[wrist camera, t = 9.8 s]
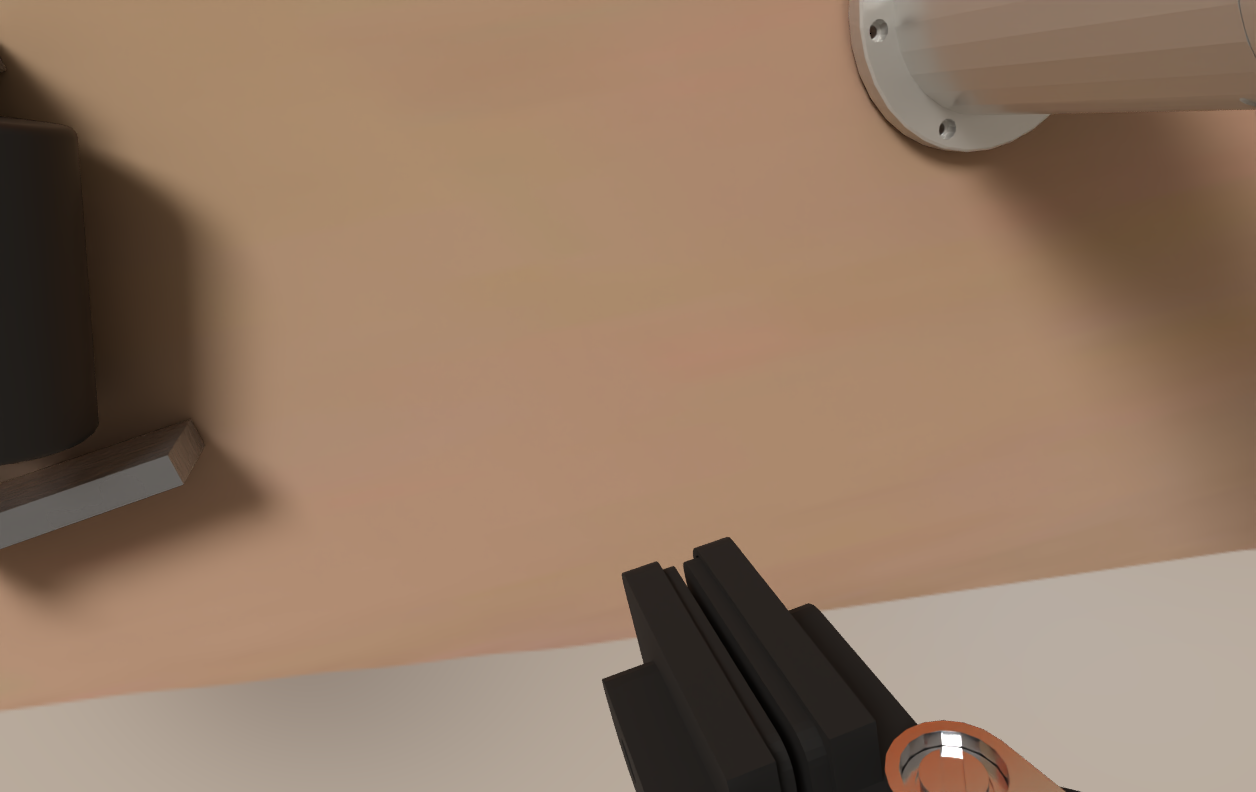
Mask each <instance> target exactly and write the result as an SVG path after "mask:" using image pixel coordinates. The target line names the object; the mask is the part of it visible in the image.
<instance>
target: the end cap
mask: <svg viewBox="0 0 1256 792" xmlns="http://www.w3.org/2000/svg"><path fill="white" fill-rule="evenodd" d="M98 424H99V418H98V405H97V391H96V378H95V364H94V351H93V337H92V324H91V310H90V297H89V283H88V270H87V256H86V243H85V229H84V216H83V202H82V189H81V175H80V162H79V148H78V137H77V134H76V132H75V131H74V130H73V129H72V128H70V127H68V126H65V125H60V124H55V123H48V122H42V121H34V120H27V119H18V118H10V117H2V116H0V465H5V464H12V463H18V462H23V461H28V460H33V459H37V458H41V457H44V456H48V455H52V454H55V453H58V452H60V451H63V450H66V449H69V448H71V447H73V446H75V445H77V444H79V443H81V442H83V441H84V440H86V439H87V438H88V437H89V436H91V435H92V434H93V433H94V432H95V430H96V428H97V427H98Z"/></svg>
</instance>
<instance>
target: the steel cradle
mask: <svg viewBox="0 0 1256 792" xmlns="http://www.w3.org/2000/svg"><path fill="white" fill-rule="evenodd" d="M3 71H7V69H6V67H5V65H4V64H3V62H2V60H1V58H0V72H3ZM204 446H205V445H204V443H203V441H202V439H201V437H200V435H199V433H198V431H197V429H196V428H195V426H194V424H193V422H192V420H191V419H189V420H186V421H183V422H180V423H177V424H174V425H171V426H168V427H165V428H162V429H159V430H156V431H153V432H150V433H147V434H145V435H142V436H139V437H136V438H133V439H130V440H127V441H124V442H121V443H118V444H115V445H112V446H109V447H106V448H103V449H100V450H97V451H94V452H91V453H88V454H85V455H82V456H80V457H77V458H74V459H71V460H68V461H65V462H62V463H59V464H56V465H53V466H50V467H47V468H44V469H41V470H38V471H35V472H32V473H29V474H26V475H23V476H20V477H17V478H14V479H12V480H9V481H6V482H3V483H0V549H2V548H5V547H8V546H10V545H13V544H16V543H19V542H22V541H25V540H27V539H30V538H33V537H36V536H39V535H42V534H45V533H47V532H50V531H53V530H56V529H59V528H62V527H64V526H67V525H70V524H73V523H76V522H79V521H81V520H84V519H87V518H90V517H93V516H96V515H99V514H101V513H104V512H107V511H110V510H113V509H116V508H118V507H121V506H124V505H127V504H130V503H133V502H135V501H138V500H141V499H144V498H147V497H150V496H152V495H155V494H158V493H161V492H164V491H167V490H170V489H172V488H175V487H178V486H181V485H184V483H185V481H186V479H187V478H188V476H189V474H190V472H191V470H192V468H193V467H194V465H195V463H196V461H197V459H198V457H199V455H200V454H201V452H202V450H203V448H204Z"/></svg>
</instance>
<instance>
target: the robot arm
mask: <svg viewBox="0 0 1256 792" xmlns="http://www.w3.org/2000/svg"><path fill="white" fill-rule="evenodd" d="M848 16H849V26H850V36H851V46H852V49H853V53H854V57H855V60H856V64H857V68H858V72H859V75H860V77H861V79H862V81H863V83H864V85H865V87H866V89H867V92H868V94H869V96H870V98H871V99H872V101H873V102H874V103H875V105H876V106H877V108H878V109H879V110H880V112H881V113H882V114H883V116H884V117H885V118H886V119H887V120H888V121H889V122H890V123H891V124H892V125H893V126H895V127H896V128H897V129H898V130H899V131H900V132H901V133H902V134H904V135H905V136H907V137H909V138H911V139H913V140H915V141H917V142H919V143H920V144H922V145H925V146H929V147H933V148H937V149H940V150H944V151H962V152H971V151H980V150H990V149H993V148H996V147H999V146H1002V145H1005V144H1008V143H1011V142H1013V141H1015V140H1016V139H1018V138H1020V137H1021V136H1023V135H1025V134H1027V133H1028V132H1030V131H1032V130H1033V129H1035V128H1036V127H1037V126H1038V125H1039V124H1040V123H1042V122H1043V121H1044V120H1045V119H1046V118H1048V117H1049V116H1050V115H1051V114H1071V113H1119V112H1166V111H1214V110H1256V0H849V13H848ZM870 30H871V36H870V34H869V33H870ZM693 558H694V559H692V560H689V561H686V562H684V564H683V567H684V573H685V578H686V582H687V586H686V584H685V582H684V581H683V579H682V578H681V576H680V574H679V573H678V571H677V569H676V568H675V567H674V566H672V567H669V568H666V569H662V568H661V566H660V564H659V563H658V562H657V561H656V562H653V563H650V564H647V565H644V566H641V567H639V568H636V569H633V570H630V571H627V572H624V573H622V580H623V584H624V588H625V592H626V596H627V600H628V604H629V608H630V612H631V616H632V619H633V623H634V627H635V631H636V635H637V639H638V643H639V647H640V651H641V655H642V659H643V663H644V664H642V665H640V666H637V667H634V668H632V669H629V670H626V671H623V672H620V673H618V674H615V675H612V676H610V677H607V678H604V679H602V682H603V686H604V690H605V694H606V697H607V701H608V704H609V708H610V712H611V715H612V719H613V722H614V726H615V729H616V732H617V736H618V739H619V742H620V745H621V748H622V751H623V754H624V758H625V761H626V764H627V767H628V770H629V773H630V776H631V778H632V781H633V784H634V787H635V790H636V792H1080V791H1076V790H1072V789H1067V788H1063V787H1059V786H1058V785H1056V784H1055V783H1054V782H1053V781H1052V780H1050V779H1049V778H1047V776H1045V775H1044V774H1043V773H1042V772H1040V771H1039V770H1038V769H1036V768H1035V767H1034V766H1033V765H1032V764H1030V763H1029V762H1028V761H1027V760H1025V759H1024V758H1023V757H1022V756H1020V755H1019V754H1018V753H1017V752H1015V751H1014V750H1013V749H1012V748H1010V747H1009V746H1008V745H1007V744H1005V743H1004V742H1003V741H1002V740H1000V739H998V738H997V737H995V736H994V735H992V734H990V733H989V732H987V731H985V730H984V729H981V728H978V727H975V726H972V725H969V724H966V723H963V722H954V721H946V720H941V721H933V722H924V723H921V724H919V725H917V723H915V721H914V720H913V719H912V718H911V716H910V715H909V714H908V713H907V712H906V711H905V709H904V708H903V707H902V706H901V705H900V704H899V702H898V701H897V700H896V699H895V698H894V697H893V695H892V694H891V693H890V692H889V691H888V690H887V689H886V687H885V686H884V685H883V684H882V683H881V681H880V680H879V679H878V678H877V677H876V676H875V674H874V673H873V672H872V671H871V670H870V669H869V667H868V666H867V665H866V664H865V663H864V662H863V660H862V659H861V658H860V657H859V656H858V655H857V654H856V652H855V651H854V650H853V649H852V648H851V647H850V645H849V644H848V643H847V642H846V641H845V640H844V638H843V637H842V636H841V635H840V634H839V632H838V631H837V630H836V629H835V628H834V627H833V625H832V624H831V623H830V622H829V621H828V620H827V619H826V617H825V616H824V615H823V614H822V613H821V611H820V610H818V609H817V608H816V607H815V606H814V605H812V604H809V603H808V604H806V605H803V606H800V607H797V608H795V609H792V610H789V611H788V610H787V608H786V607H785V606H784V605H783V603H782V602H781V601H780V600H779V598H778V597H777V596H776V595H775V593H774V592H773V591H772V589H771V588H770V587H769V586H768V584H767V583H766V582H765V581H764V579H763V578H762V577H761V576H760V574H759V573H758V572H757V571H756V569H755V568H754V567H753V566H752V564H751V563H750V562H749V561H748V559H747V558H746V557H745V555H744V554H743V553H742V552H741V550H740V549H739V548H738V547H737V545H736V544H735V543H734V542H733V540H732V539H731V538H730V537H726V538H723V539H720V540H717V541H714V542H711V543H708V544H705V545H702V546H699V547H697V548H694V550H693Z"/></svg>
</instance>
